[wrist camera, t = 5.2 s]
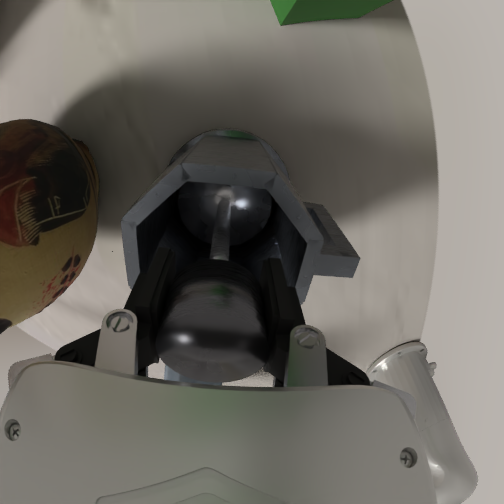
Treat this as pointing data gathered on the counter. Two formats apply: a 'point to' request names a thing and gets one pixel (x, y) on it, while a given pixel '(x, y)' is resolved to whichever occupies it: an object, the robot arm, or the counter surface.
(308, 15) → the hardback book
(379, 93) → the counter surface
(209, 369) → the dark grey stemmed piece
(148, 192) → the carafe
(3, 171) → the ceramic jug
